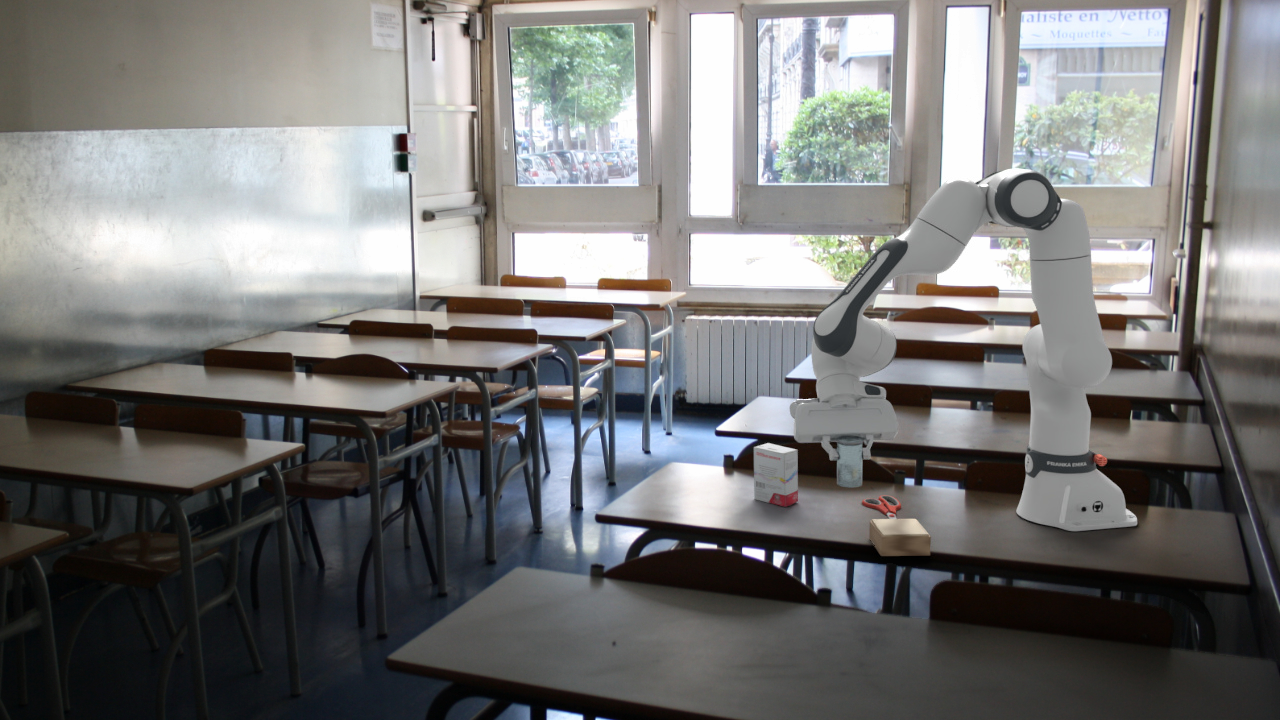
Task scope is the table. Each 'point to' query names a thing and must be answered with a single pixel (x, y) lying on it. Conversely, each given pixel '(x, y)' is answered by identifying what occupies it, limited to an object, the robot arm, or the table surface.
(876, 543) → the beige box
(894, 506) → the scissors
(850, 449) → the translucent jar
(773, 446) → the ink box
